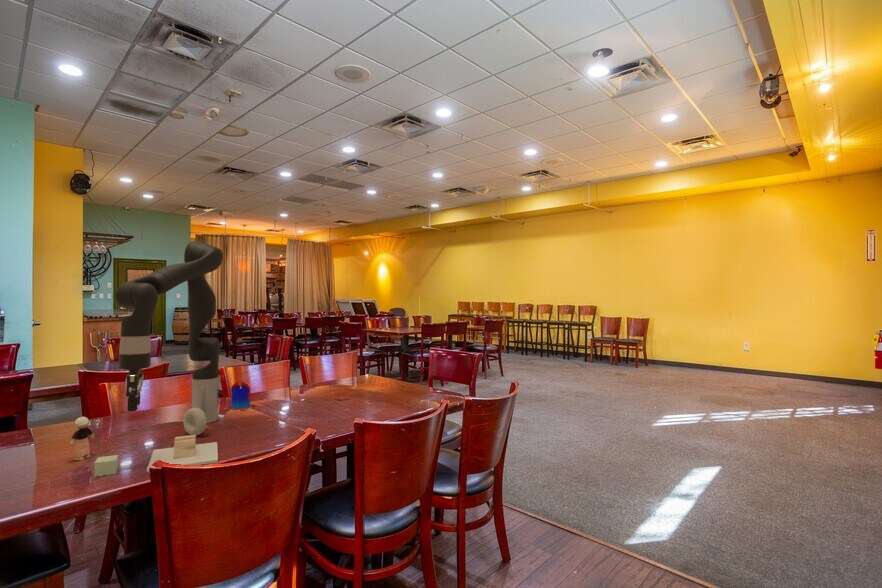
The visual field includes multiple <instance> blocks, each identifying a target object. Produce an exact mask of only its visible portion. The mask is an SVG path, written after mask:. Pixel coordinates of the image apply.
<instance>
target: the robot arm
mask: <svg viewBox="0 0 882 588" xmlns="http://www.w3.org/2000/svg"><path fill="white" fill-rule="evenodd" d="M183 259H184V262H180V263H173V264H169V265H165V266H163V267H161V268H159V269H156V270H155V271H152V272H151V273H149V274H147V275H144V276H141V277H140V276H139V277H138V278H134V279H132V280H129V281H126V282H124V283H122V284H120V285H119V286H118V288H117V289H116V291H115V292H114V293H115V295H114V298H115V301H116V302H117V303H118V305H119V306H122V307H125V308H133V311H132V314H130V315H127V316H124V317H122V319H121V325H120V341H119V347H118V350H119V354H118V356H119V357H118V368H119V369H120V370H125V371H127V370H128V374H126V375H125V391H126V393H125V396H126V397H125V398H127V409H126V410H127V412H136V411H137V410H138V406H139V405H140V404H141V392H142V390H143V389H142V387H143V383H144V381H143V380H144V373H143V370H144V369H148V368H150V367H151V362H152V360H151V358H152V339H151V322H152V319H153V316H154V313H155V310H156V306H157V304H158V298H159V296H160V295H164V294H165V293H167V292H169V291H171V290H172V289H174V288H176V287H178V286H179V285H180V284H183V283H185V282H187V295H188V296H187V308H188V309H187V310H188V312H187V313H188V323H189V324H188V325H189V326H188V327H189V328H188V329H189V331H188V332H189V333H188V357H189V359H190V360H191V361H192V362H206V361H207V362H209V363H208V364H207V365H205V366H203V367H202V368H198V369H196V370H193V372H192V374H191V375H192V380H191V381H192V383H191V384H192V385H191V390H192V391H191V408H195V407H197V408H200V409H201V410H202V411H203V412H204V414H205V416H206V421H207V423H206V424H209V423H214V422H216V421H218V417H219V416H218V415H219V410H218V409H219V361H220V349H221V348H220V347H221V346H220V340H219V338H218V337H200V335H201V333H202V332H203V330H204V329H205V328H206V327H207V325H208V324H210V322H211V321H212V320H213V319H214V318H215V315H216V312H217V299H216V295H215V293H214V291H213V289H212V287H211V285H210V284H209V283H208V281H207V279H206V277H205V275H207V274H209V273H213V272H214V271H216V270H218V268H220V266H221V265H222V263H223V259H224V252H223V250H222V249H220V248H219V247H217V246H214V245H211V244H208V243H206V242H205V243H204V242H202V241H198V240H193V241H190V242H188V244H187V245H186V247H185V249H184V257H183ZM194 423H195V425H196V420H195V418H194Z"/></svg>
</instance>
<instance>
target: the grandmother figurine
mask: <svg viewBox="0 0 882 588" xmlns="http://www.w3.org/2000/svg"><path fill="white" fill-rule="evenodd" d="M89 423H90V420H89V418H88V417H86V416H80V417H78V418H76V420H75V426H76V428H77V429H78V430H75V431H74V433H73V434H72V436H71V438H70V442H69V445H70V446H73V445H74V450H73V457H74V458H73V461H74V460H80V461H83V460H85V459H87V458H91V454H90V451H91V450H90V442H89V439H88V438H89V437H90V439H95V437H96V436H95V434H94V432H93V430H91V429H90V428H89V427H88V426H87V425H89Z"/></svg>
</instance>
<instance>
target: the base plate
mask: <svg viewBox="0 0 882 588" xmlns="http://www.w3.org/2000/svg"><path fill="white" fill-rule="evenodd" d="M218 452H219V451H218V441H215V442H213V441H212V442H205V443H199V444H197V443H196V451H195V456H193V457H185V458H178V459H174V446H172V447H165V448H159V449H153V451H152V454H151V456H150V459H149V462H148V465H147V468H146V473H150V472H149V468H150V466H151V465H152V464H153V463H154V462H155V461H157V460H161V461H163V462H166V463H169V464H181V465H196V466H201V465H202V464H203V465H210V464H216V463H218V462H219V453H218Z"/></svg>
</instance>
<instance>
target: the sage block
mask: <svg viewBox="0 0 882 588" xmlns="http://www.w3.org/2000/svg"><path fill="white" fill-rule="evenodd" d="M118 470H119V454H114V455H106V456H99V457H97V458H96V460H95V462H94V467H93V474H94V475H93V477H94V478H97V477H96V476H99V477H104V476H103V475H106V476H112V475H111V474H113V475H116V474H117V472H118Z"/></svg>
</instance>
